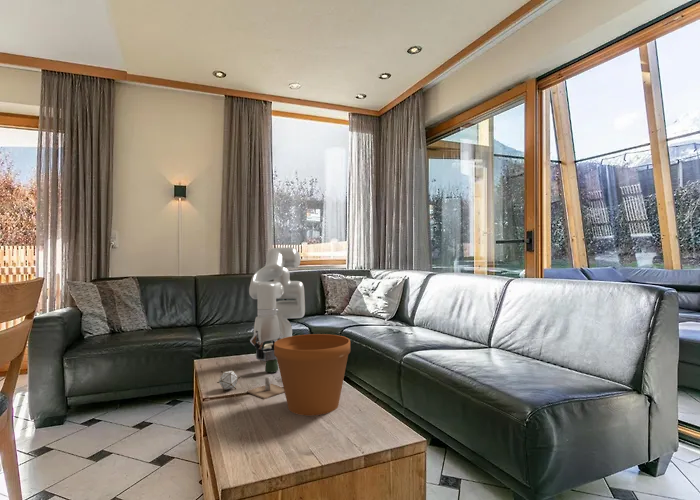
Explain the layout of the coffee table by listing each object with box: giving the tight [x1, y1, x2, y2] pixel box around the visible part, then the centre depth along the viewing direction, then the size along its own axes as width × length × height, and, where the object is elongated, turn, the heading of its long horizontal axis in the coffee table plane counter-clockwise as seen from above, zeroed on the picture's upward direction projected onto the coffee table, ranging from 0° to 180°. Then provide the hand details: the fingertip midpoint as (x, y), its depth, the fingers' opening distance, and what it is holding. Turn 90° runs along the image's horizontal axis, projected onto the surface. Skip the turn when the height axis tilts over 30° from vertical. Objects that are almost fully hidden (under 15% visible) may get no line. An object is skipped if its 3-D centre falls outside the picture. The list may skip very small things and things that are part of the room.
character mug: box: [263, 342, 279, 373], centre depth 188 cm, size 11×7×13 cm, turn 109°
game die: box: [216, 368, 241, 392], centre depth 164 cm, size 9×8×10 cm
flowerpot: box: [274, 333, 352, 417], centre depth 145 cm, size 28×28×24 cm
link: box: [255, 348, 277, 362], centre depth 160 cm, size 6×6×4 cm
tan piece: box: [246, 376, 285, 400], centre depth 160 cm, size 12×12×6 cm
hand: (267, 356), depth 160 cm, fingers closed on link, 6 cm apart
